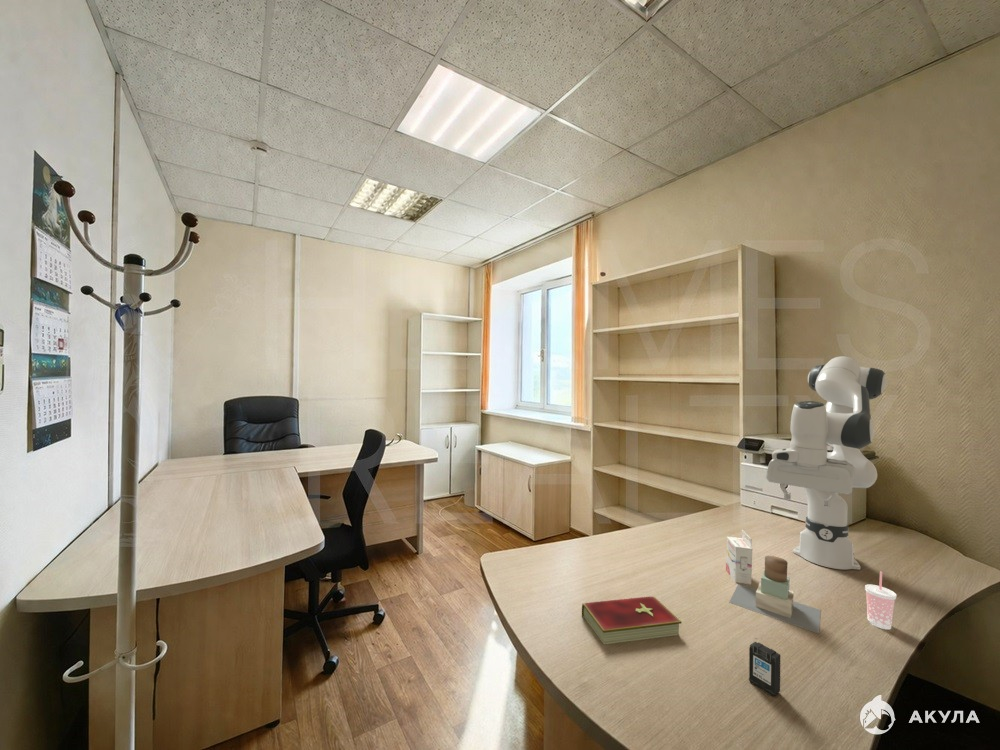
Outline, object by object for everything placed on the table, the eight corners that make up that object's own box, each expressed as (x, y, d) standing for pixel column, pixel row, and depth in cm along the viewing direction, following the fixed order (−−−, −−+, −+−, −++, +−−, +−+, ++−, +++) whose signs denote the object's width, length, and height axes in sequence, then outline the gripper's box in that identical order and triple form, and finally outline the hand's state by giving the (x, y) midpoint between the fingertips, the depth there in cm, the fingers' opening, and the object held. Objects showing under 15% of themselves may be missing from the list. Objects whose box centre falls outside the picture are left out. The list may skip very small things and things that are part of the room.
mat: (738, 585, 124) (738, 583, 124) (820, 611, 111) (820, 610, 111) (728, 603, 114) (728, 602, 114) (818, 635, 101) (818, 633, 101)
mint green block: (763, 583, 117) (764, 570, 117) (789, 591, 113) (789, 577, 113) (760, 591, 112) (761, 577, 112) (786, 600, 108) (787, 585, 108)
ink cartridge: (748, 681, 84) (749, 643, 85) (754, 677, 86) (754, 640, 86) (774, 697, 80) (775, 657, 80) (780, 693, 81) (780, 653, 82)
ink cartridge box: (724, 571, 133) (726, 527, 133) (741, 573, 132) (742, 528, 132) (734, 584, 125) (736, 537, 125) (751, 586, 124) (753, 538, 124)
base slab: (759, 594, 118) (760, 581, 118) (793, 605, 113) (793, 591, 113) (755, 606, 112) (755, 592, 112) (790, 618, 107) (791, 603, 107)
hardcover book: (581, 617, 106) (582, 601, 106) (652, 609, 110) (652, 594, 110) (602, 647, 94) (603, 629, 94) (680, 637, 99) (681, 620, 99)
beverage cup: (898, 634, 102) (900, 579, 102) (866, 625, 106) (868, 572, 106) (891, 622, 108) (893, 570, 107) (861, 614, 111) (863, 563, 111)
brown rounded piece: (765, 571, 116) (766, 554, 116) (787, 577, 113) (788, 559, 113) (763, 577, 112) (763, 559, 112) (785, 584, 109) (786, 566, 109)
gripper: (854, 460, 115) (853, 507, 115) (769, 449, 128) (767, 492, 128) (854, 463, 110) (853, 513, 110) (766, 452, 123) (765, 497, 123)
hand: (806, 502), depth 119 cm, fingers open, 8 cm apart
